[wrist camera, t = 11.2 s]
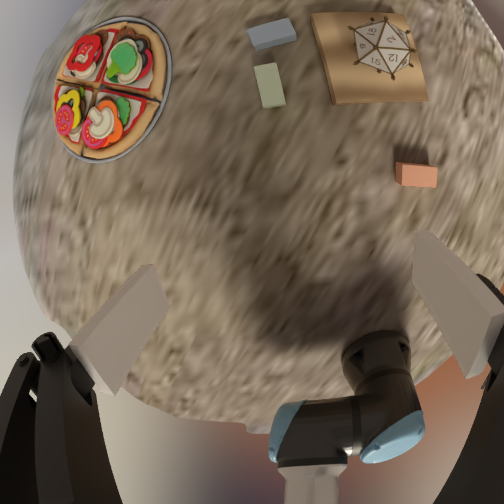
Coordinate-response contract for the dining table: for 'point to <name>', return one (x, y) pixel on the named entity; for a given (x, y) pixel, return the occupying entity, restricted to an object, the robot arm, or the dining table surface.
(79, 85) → the toy pizza
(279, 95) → the sage brick
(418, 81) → the oak block
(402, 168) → the terracotta brick
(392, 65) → the game die
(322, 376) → the dining table surface
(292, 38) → the slate blue brick
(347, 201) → the dining table surface
